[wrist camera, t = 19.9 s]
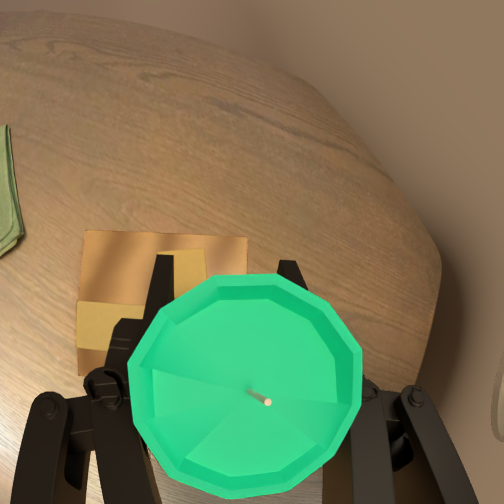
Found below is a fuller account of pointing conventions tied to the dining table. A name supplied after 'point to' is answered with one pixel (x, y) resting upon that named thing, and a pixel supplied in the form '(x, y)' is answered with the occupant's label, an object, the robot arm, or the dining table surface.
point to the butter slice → (187, 269)
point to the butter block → (101, 322)
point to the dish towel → (8, 196)
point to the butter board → (142, 269)
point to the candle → (245, 385)
